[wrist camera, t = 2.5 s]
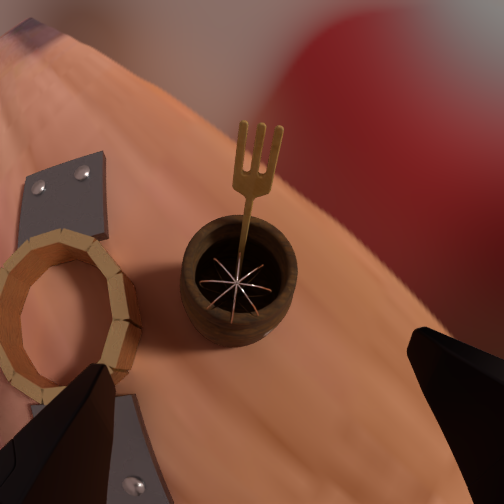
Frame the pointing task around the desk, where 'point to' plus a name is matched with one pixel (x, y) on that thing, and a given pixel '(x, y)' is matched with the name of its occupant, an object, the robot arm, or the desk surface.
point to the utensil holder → (240, 261)
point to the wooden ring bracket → (121, 300)
